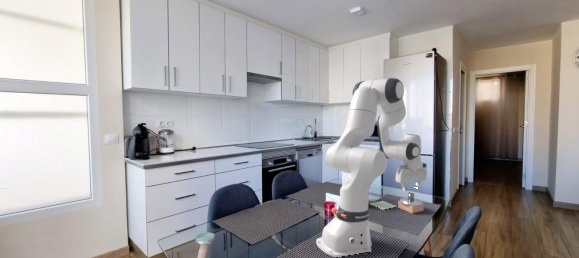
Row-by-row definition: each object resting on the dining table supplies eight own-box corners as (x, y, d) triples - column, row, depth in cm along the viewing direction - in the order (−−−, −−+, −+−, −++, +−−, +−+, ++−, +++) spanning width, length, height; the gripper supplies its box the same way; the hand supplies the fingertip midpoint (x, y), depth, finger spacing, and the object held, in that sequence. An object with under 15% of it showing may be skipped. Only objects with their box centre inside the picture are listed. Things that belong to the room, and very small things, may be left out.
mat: (383, 210, 138) (383, 209, 138) (369, 204, 147) (369, 203, 147) (396, 207, 142) (396, 206, 142) (382, 201, 151) (382, 200, 151)
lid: (413, 207, 131) (413, 197, 130) (395, 201, 140) (395, 192, 140) (427, 204, 136) (427, 194, 135) (409, 198, 145) (409, 189, 145)
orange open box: (412, 213, 132) (412, 206, 132) (397, 208, 140) (398, 201, 140) (423, 211, 136) (423, 203, 136) (409, 205, 144) (409, 198, 144)
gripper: (402, 166, 130) (402, 193, 130) (429, 164, 138) (428, 189, 139) (392, 164, 135) (392, 190, 136) (419, 162, 144) (418, 186, 145)
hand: (410, 189), depth 137 cm, fingers open, 8 cm apart
